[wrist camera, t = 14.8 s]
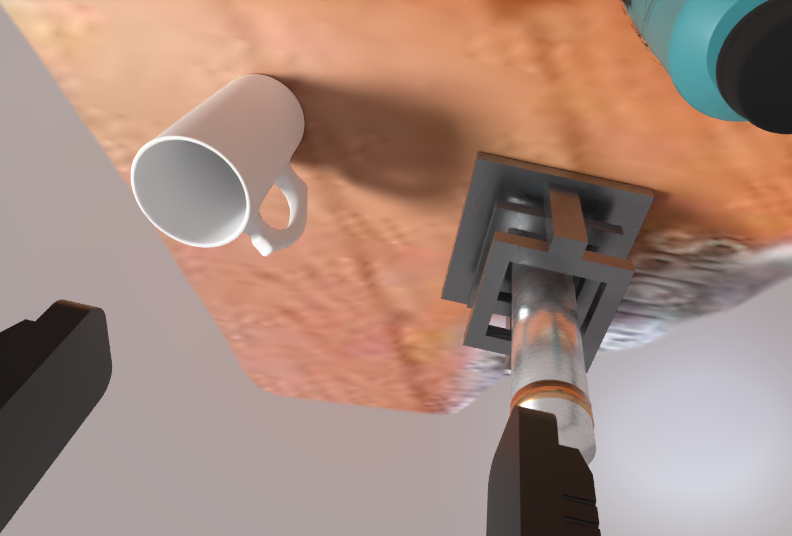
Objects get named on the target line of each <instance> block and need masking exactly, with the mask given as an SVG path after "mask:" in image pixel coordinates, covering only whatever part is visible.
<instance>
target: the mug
mask: <svg viewBox="0 0 792 536" xmlns="http://www.w3.org/2000/svg"><path fill="white" fill-rule="evenodd" d="M304 125H305V123H304V115H303V111H302V108H301V106H300V104H299V102H298V100H297V98H296V97H295V95H294V94H293V93H292V92H291V91H290V90H289V89H288V88H287V87H286V86H285V85H284V84H282V83H281V82H279V81H278V80H276V79H274V78H271V77H269V76H265V75H260V74H248V75H243V76H240V77H238V78H236V79H234V80H233V81H231V82H230V83H228V84H227V85H226V86H224V87H223V88H221V89H220V90H218V91H217V92H216V93H214V94H213V95H212V96H210V97H209V98H208V99H206V100H205V101H204V102H202V103H201V104H200V105H198V106H197V107H196V108H194V109H193V110H192V111H190V112H189V113H188V114H186V115H185V116H183V117H182V118H181V119H179V120H178V121H177V122H175V123H174V124H173V125H171V126H170V127H169V128H167V129H166V130H165V131H163V132H162V133H161V134H160V135H159V136H157V137H156V138H155V139H154V140H152V141H150V142H148V143H147V144H145V145H144V146H143V147H142V148H141V149H140V150H139V151H138V153H137V155H136V156H135V158H134V161H133V164H132V169H131V184H132V189H133V193H134V196H135V198H136V200H137V203H138V204H139V206H140V208H141V210H142V211H143V213H144V214H145V215H146V217H147V218H148V219H149V220H150V221H151V222H152V223H153V224H154V225H155V226H156V227H157V228H158V229H159V230H161V231H162V232H163V233H165V234H166V235H168V236H170V237H171V238H173V239H175V240H177V241H179V242H182V243H185V244H188V245H191V246H196V247H218V246H222V245H225V244H228V243H230V242H232V241H233V240H235V239H236V238H237V237H239V236H240V234H241V233H242V232H243V231H244V232H245V233H247V234H248V235H249V236H250V237H251V239H252V243H253V245H254V246H255V247H256V248H257V249H258V251H259V252H260V253H261V254H262V255H263V256H268V255H270V254H271V253H272V252H274V251H277V250H280V249H283V248H286V247H288V246H290V245H292V244H293V243H295V242H296V241H297V240H298V239H299V238H300V236H301V235H302V233H303V231H304V228H305V224H306V218H307V185H306V184H305V183H304V181H303V180H302V179H301V178H300V177H299V176H298V175H297V174H296V173H295V172H294V170H293V169H292V167H291V165H290V159H291V157H292V155H293V153H294V151H295V150H296V148H297V147H298V145H299V144H300V142H301V140H302V137H303V133H304ZM273 184H275V185H276V186H278V187H279V188H280V189H281V191H282V192H283V193H284V194H285V196H286V198H287V200H288V203H289V207H290V220H289V224H288V226H287V227H286V229H283V230H276V229H273V228H271V227H270V226H269V225H267V224H266V222H265V221H264V220H263V219H262V217H261V216H260V212H259V208H260V205H261V203H262V201H263V199H264V198H265V196H266V195H267V193H268V191H269V190H270V188H271V187H272V185H273Z"/></svg>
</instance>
